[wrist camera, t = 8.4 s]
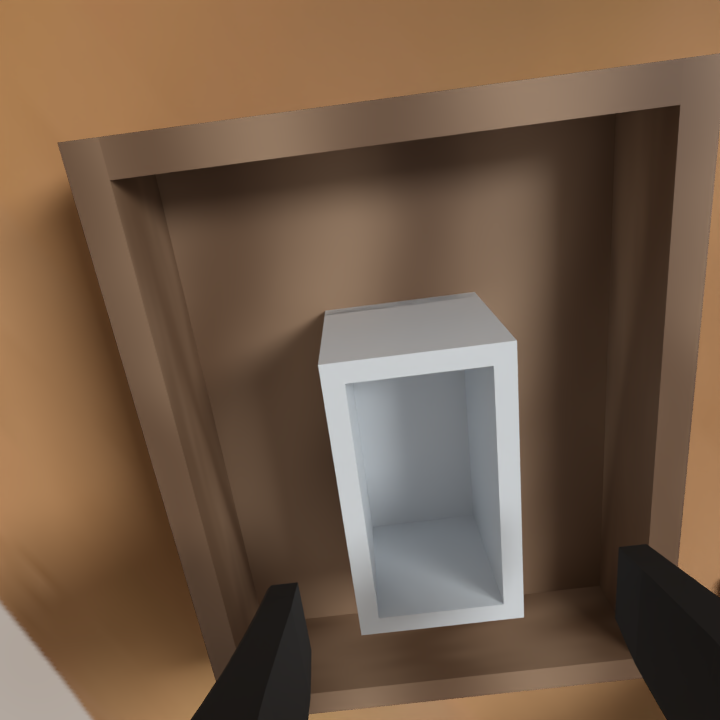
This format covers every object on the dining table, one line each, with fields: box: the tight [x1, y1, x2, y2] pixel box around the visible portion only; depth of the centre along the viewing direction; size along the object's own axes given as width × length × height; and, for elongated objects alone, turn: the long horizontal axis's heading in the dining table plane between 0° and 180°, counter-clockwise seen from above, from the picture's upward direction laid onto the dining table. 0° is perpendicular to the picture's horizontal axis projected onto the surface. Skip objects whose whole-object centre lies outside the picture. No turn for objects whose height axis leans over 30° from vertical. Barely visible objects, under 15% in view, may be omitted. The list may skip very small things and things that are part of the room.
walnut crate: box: [58, 53, 720, 714], centre depth 19 cm, size 16×20×4 cm
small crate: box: [318, 292, 524, 635], centre depth 18 cm, size 5×9×5 cm, turn 7°
